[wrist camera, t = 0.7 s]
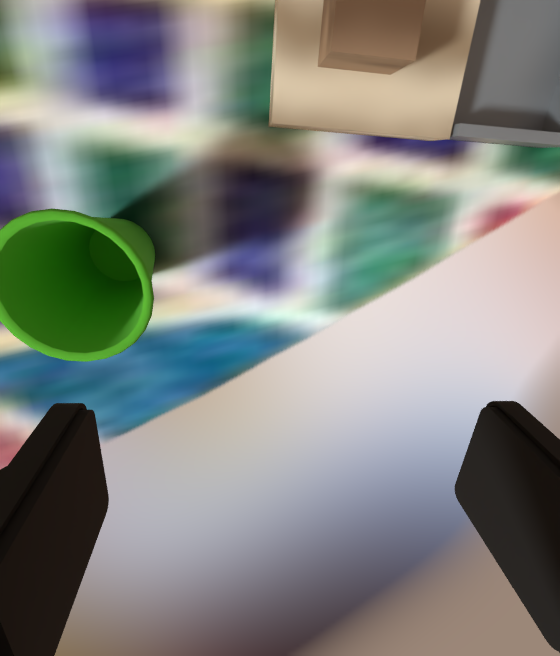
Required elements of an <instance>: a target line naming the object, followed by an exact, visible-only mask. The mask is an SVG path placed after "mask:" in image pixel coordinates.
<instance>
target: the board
mask: <svg viewBox="0 0 560 656" xmlns="http://www.w3.org/2000/svg"><path fill="white" fill-rule="evenodd" d="M480 1H481V0H426V4H425V10H424V15H423V21H422V26H421V32H420V38H419V43H418V49H417V54H416V60H415V61H414V62H412V63H411V64H409V65H407V66H405V67H403V68H402V69H400V70H398V71H396V72H394V73H393V74H391V75H387V74H378V73H368V72H359V71H350V70H341V69H332V68H323V67H318V56H319V46H320V35H321V24H322V13H323V2H324V0H275V16H274V35H273V55H272V74H271V93H270V112H269V127H279V128H290V129H302V130H313V131H324V132H336V133H347V134H359V135H370V136H381V137H393V138H404V139H415V140H427V141H434V140H445V139H450V135H451V130H452V126H453V121H454V117H455V112H456V108H457V103H458V99H459V94H460V90H461V85H462V81H463V77H464V72H465V68H466V63H467V59H468V54H469V50H470V45H471V41H472V36H473V32H474V27H475V23H476V18H477V14H478V10H479V5H480Z"/></svg>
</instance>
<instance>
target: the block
mask: <svg viewBox="0 0 560 656" xmlns="http://www.w3.org/2000/svg"><path fill="white" fill-rule="evenodd" d="M425 4H426V0H324V2H323V13H322V24H321V35H320V46H319V56H318V67H323V68H332V69H341V70H350V71H359V72H368V73H378V74H387V75H391V74H393V73H394V72H396V71H398V70H400V69H402V68H403V67H405V66H407V65H409V64H411V63H412V62H414V61H415V60H416V54H417V49H418V43H419V38H420V32H421V26H422V21H423V15H424V10H425Z"/></svg>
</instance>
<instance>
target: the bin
mask: <svg viewBox="0 0 560 656" xmlns="http://www.w3.org/2000/svg"><path fill="white" fill-rule="evenodd" d="M447 140H459V141H470V142H481V143H492V144H504V145H515V146H526V147H537V148H548V147H560V0H481V1H480V5H479V10H478V14H477V18H476V23H475V27H474V32H473V36H472V41H471V45H470V50H469V54H468V59H467V63H466V68H465V72H464V77H463V81H462V85H461V90H460V94H459V99H458V103H457V108H456V112H455V117H454V121H453V126H452V130H451V135H450V139H447Z"/></svg>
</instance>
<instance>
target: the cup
mask: <svg viewBox="0 0 560 656" xmlns="http://www.w3.org/2000/svg"><path fill="white" fill-rule="evenodd" d="M154 261H155V249H154V245H153V243H152V240H151V238H150V237H149V236H148V234H147V233H146V232H145V231H144V230H143V229H142V228H141V227H140V226H138V225H137V224H135V223H133V222H131V221H128V220H125V219H117V218H99V217H91V216H88V215H85V214H82V213H79V212H76V211H69V210H60V209H46V210H39V211H31V212H29V213H26V214H24V215H22V216H19V217H17V218H15V219H12V220H11V221H10V222H9V223H8V224H6V225H5V226H4V227H3V228H2V229H0V321H1V322H2V323H3V324H4V325H5V327H6V328H7V329H8V330H9V331H10V332H11V333H12V334H13V335H14V336H15V337H17V338H18V339H20V340H21V341H22V342H24V343H25V344H27V345H28V346H29V347H31V348H33V349H35V350H37V351H39V352H42V353H44V354H46V355H48V356H52V357H56V358H60V359H63V360H67V361H85V362H86V361H93V360H100V359H106V358H108V357H111V356H114V355H116V354H119V353H121V352H123V351H124V350H126V349H127V348H128V347H130V346H131V345H133V344H134V343H135V342H136V341H137V340H138V338H139V337H140V336H141V335H142V334H143V332H144V331H145V330H146V327H147V325H148V323H149V320H150V318H151V316H152V309H153V301H154V295H153V288H152V281H151V280H152V274H153V268H154Z"/></svg>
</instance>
